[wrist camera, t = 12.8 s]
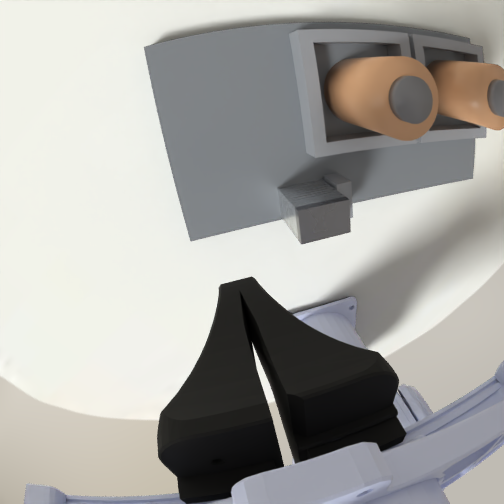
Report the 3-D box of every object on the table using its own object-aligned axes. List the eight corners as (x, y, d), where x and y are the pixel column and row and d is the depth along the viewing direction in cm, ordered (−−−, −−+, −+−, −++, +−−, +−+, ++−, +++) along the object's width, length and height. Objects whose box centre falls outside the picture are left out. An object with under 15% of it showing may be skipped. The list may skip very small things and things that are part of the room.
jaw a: (462, 115, 20) (520, 132, 15) (423, 116, 19) (485, 133, 14) (458, 62, 18) (518, 69, 12) (419, 57, 17) (482, 61, 12)
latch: (323, 207, 21) (350, 232, 18) (281, 216, 21) (301, 244, 18) (321, 178, 20) (349, 199, 17) (276, 187, 20) (297, 210, 17)
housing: (463, 174, 24) (488, 186, 21) (190, 233, 22) (191, 256, 19) (459, 38, 18) (487, 38, 15) (146, 49, 15) (139, 41, 13)
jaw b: (386, 119, 19) (447, 139, 14) (329, 128, 19) (382, 149, 14) (379, 57, 17) (442, 57, 12) (318, 60, 16) (371, 56, 11)
